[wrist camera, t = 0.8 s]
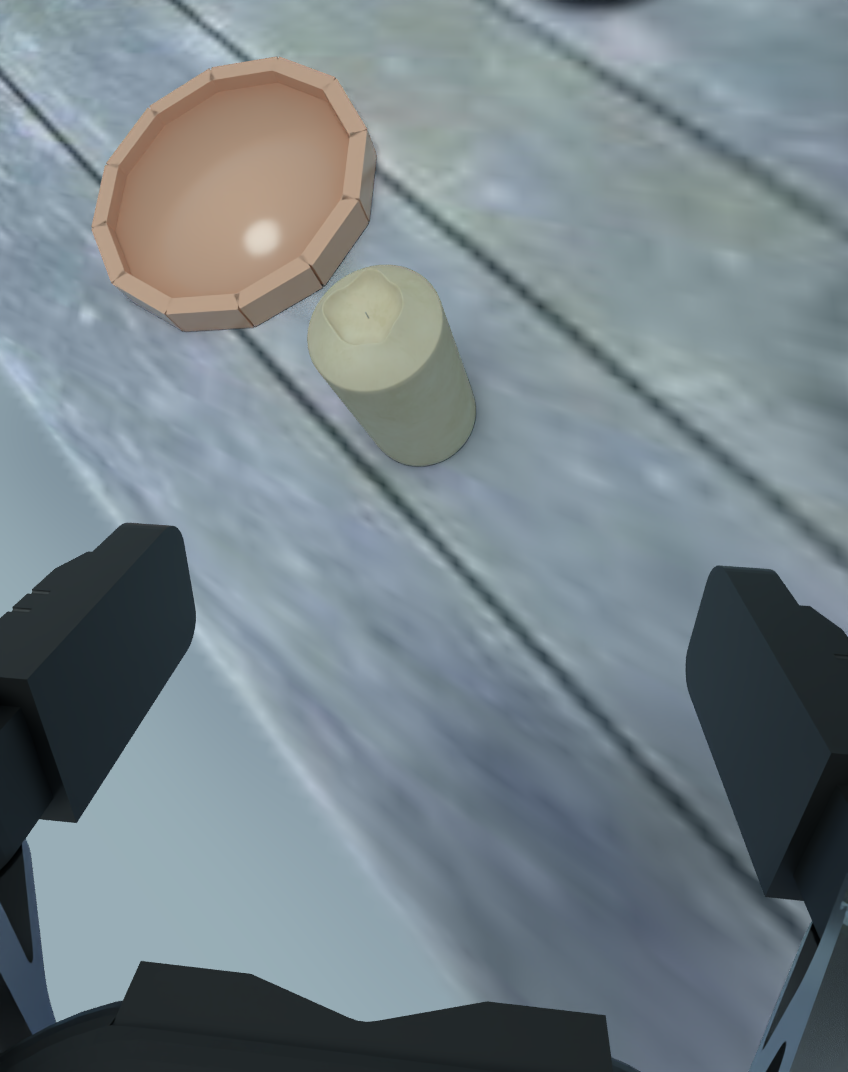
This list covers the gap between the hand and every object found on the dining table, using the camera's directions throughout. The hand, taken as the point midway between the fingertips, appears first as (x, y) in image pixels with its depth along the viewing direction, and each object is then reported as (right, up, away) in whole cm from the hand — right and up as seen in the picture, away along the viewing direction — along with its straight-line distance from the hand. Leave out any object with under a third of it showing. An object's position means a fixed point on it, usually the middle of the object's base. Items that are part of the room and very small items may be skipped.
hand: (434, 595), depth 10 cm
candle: (0, +7, +24) cm, 25 cm away
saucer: (-11, +21, +30) cm, 38 cm away
